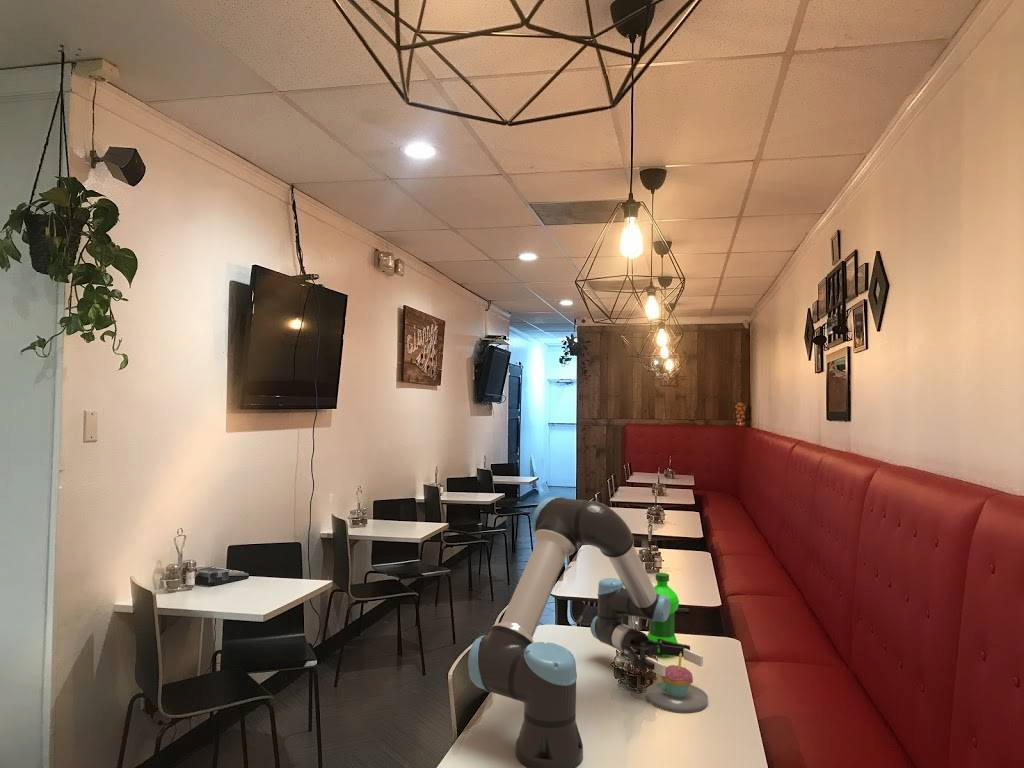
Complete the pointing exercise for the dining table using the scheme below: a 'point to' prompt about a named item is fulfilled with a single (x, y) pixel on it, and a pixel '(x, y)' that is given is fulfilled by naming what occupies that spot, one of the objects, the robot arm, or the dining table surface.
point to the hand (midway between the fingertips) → (683, 666)
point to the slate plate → (677, 699)
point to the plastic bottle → (667, 627)
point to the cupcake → (677, 679)
